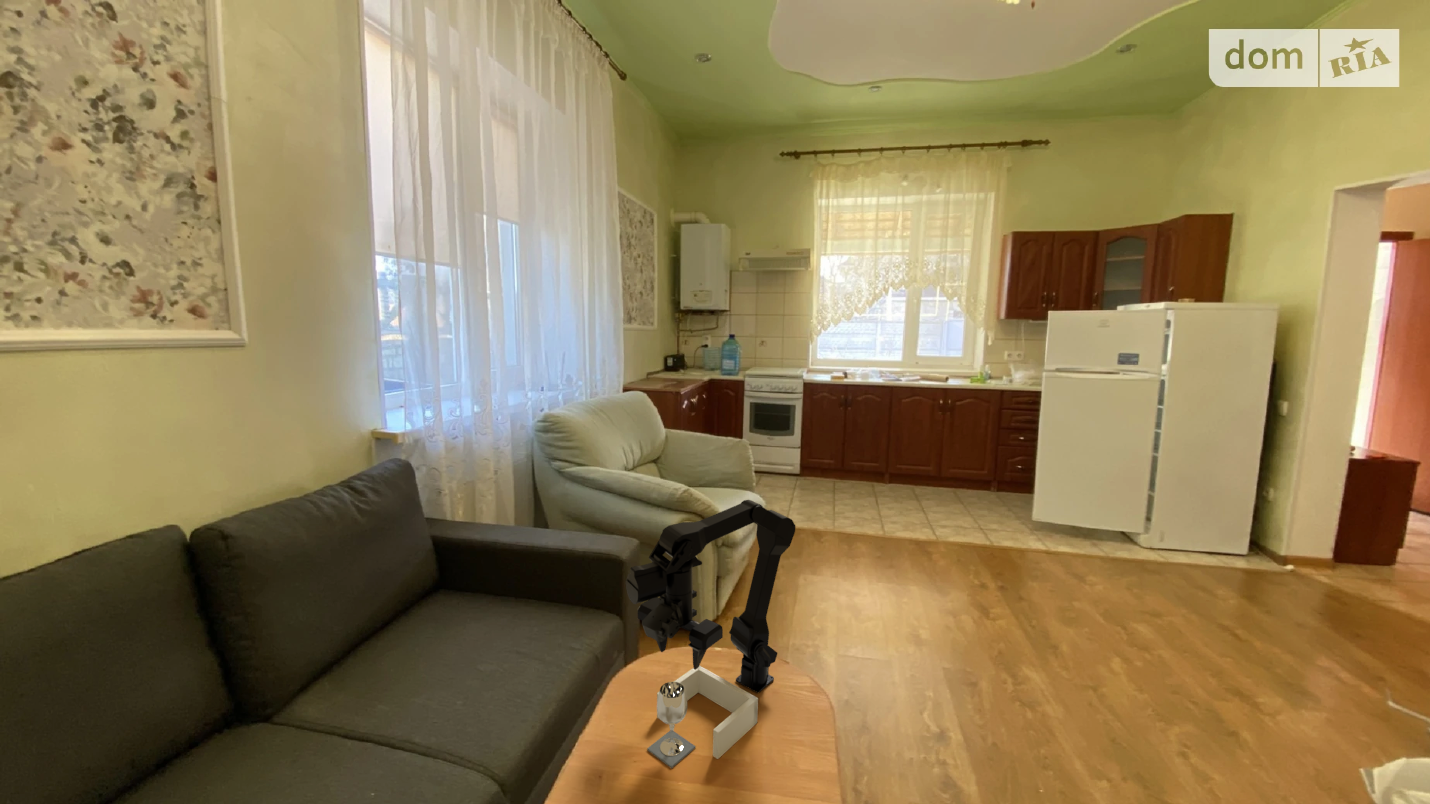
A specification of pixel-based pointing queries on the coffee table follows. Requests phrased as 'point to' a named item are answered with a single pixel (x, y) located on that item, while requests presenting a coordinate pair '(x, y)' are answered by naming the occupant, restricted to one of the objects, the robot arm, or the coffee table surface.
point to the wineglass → (671, 714)
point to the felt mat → (671, 760)
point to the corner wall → (728, 698)
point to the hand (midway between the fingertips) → (679, 659)
